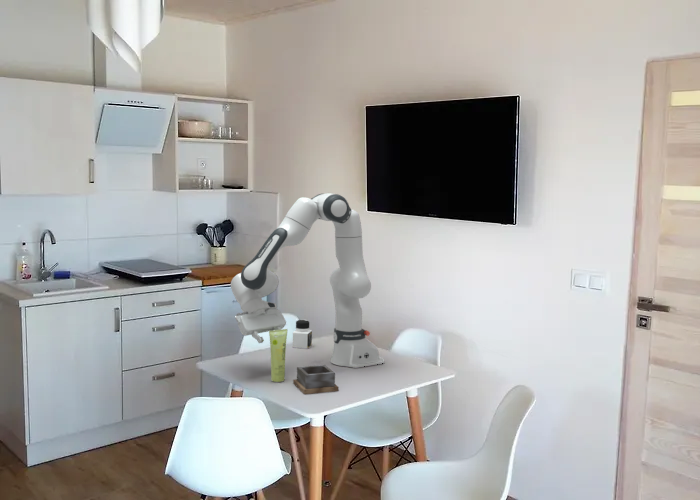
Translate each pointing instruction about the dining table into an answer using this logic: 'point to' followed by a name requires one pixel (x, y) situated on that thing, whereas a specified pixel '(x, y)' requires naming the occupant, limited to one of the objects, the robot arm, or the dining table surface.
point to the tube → (278, 354)
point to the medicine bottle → (302, 335)
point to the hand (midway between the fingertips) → (271, 340)
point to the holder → (315, 379)
